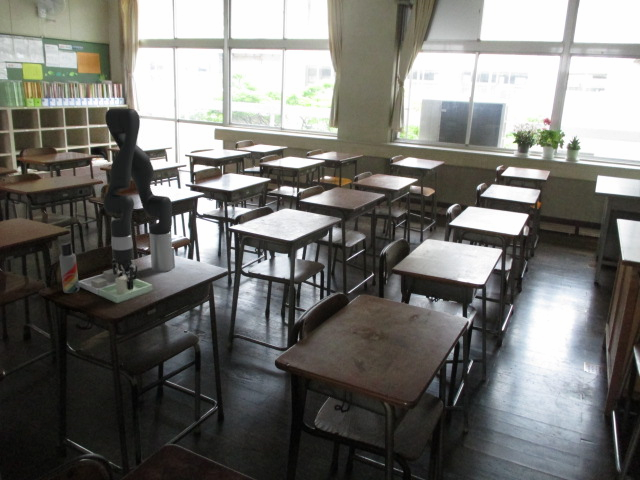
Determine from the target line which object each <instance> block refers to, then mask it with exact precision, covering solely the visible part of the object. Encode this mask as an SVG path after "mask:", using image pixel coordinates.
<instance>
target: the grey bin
mask: <svg viewBox="0 0 640 480" xmlns="http://www.w3.org/2000/svg"><path fill="white" fill-rule="evenodd" d="M98 278H102V279H104V275H103V273H102V274H98V275H94V276H91V277H88V278H84V279H81V280H78V281H79V288H82V289H84V290H86V291H88V292H91V293H93V294H95V295H97V296H99V291H98V288H96V287H94V286H92V284H91V281H92V280H95V279H98ZM113 284H116V282H115V281H114V282H111V283H109V282H107V286H110V285H113ZM107 286H105V287H107ZM102 288H104V287H102ZM99 289H101V288H99Z"/></svg>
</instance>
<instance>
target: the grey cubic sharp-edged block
mask: <svg viewBox="0 0 640 480" xmlns="http://www.w3.org/2000/svg"><path fill="white" fill-rule="evenodd" d="M102 272H103V273H102V274H103V275H104V279H105V280H107V282H109V283H111V282H114V281H115V278H118V277H117V276H116V274H115V275H114V273H113V269H112V268H110V269H108V270H104V271H102Z"/></svg>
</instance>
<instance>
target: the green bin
mask: <svg viewBox="0 0 640 480" xmlns="http://www.w3.org/2000/svg"><path fill="white" fill-rule="evenodd" d="M98 291H99V295H98V296H99V297H102V298H104V299H106V300H109V301H111V302H113V303H115V304H119V303H122V302H126V301H129V300H132V299H134V298H137V297H140V296H142V295H145V294H147V293H152V292H153V291H154V287H153V284H151V283H149V282H146V281H143V280H141V279H139V278H137V279H135V280H133V291H130V292H127V293H124V294H119V293H116V284H113V285H110V286H107V287H104V288H101V289H98Z"/></svg>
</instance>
